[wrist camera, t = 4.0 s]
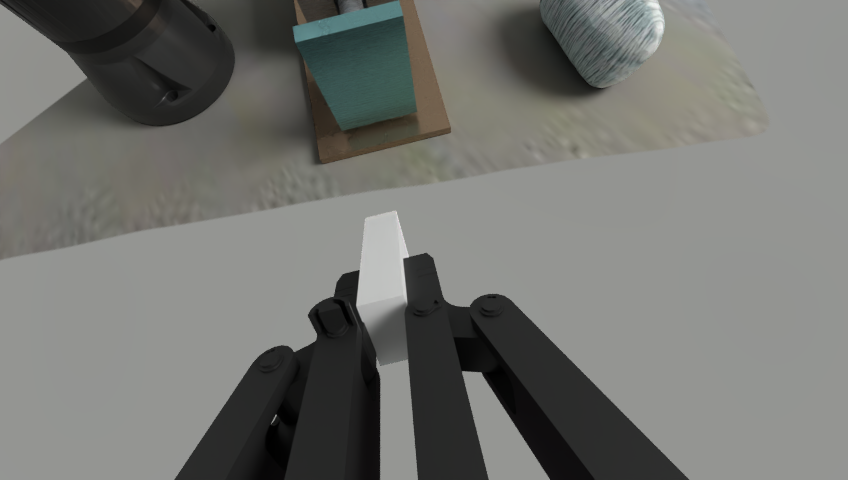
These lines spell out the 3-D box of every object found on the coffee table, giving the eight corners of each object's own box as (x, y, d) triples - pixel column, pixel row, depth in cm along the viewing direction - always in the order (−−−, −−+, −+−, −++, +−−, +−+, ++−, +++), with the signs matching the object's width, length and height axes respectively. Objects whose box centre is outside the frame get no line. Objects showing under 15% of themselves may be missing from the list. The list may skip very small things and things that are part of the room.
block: (417, 111, 35) (403, 15, 24) (341, 130, 35) (295, 42, 24) (389, 6, 39) (366, -116, 28) (321, 23, 39) (274, -92, 28)
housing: (450, 132, 36) (450, 69, 28) (323, 163, 36) (283, 110, 28) (398, -46, 44) (385, -139, 35) (293, -19, 44) (254, -106, 35)
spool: (508, -10, 37) (589, -109, 28) (566, -1, 41) (651, -84, 32) (546, 110, 36) (641, 47, 27) (600, 105, 41) (696, 51, 32)
